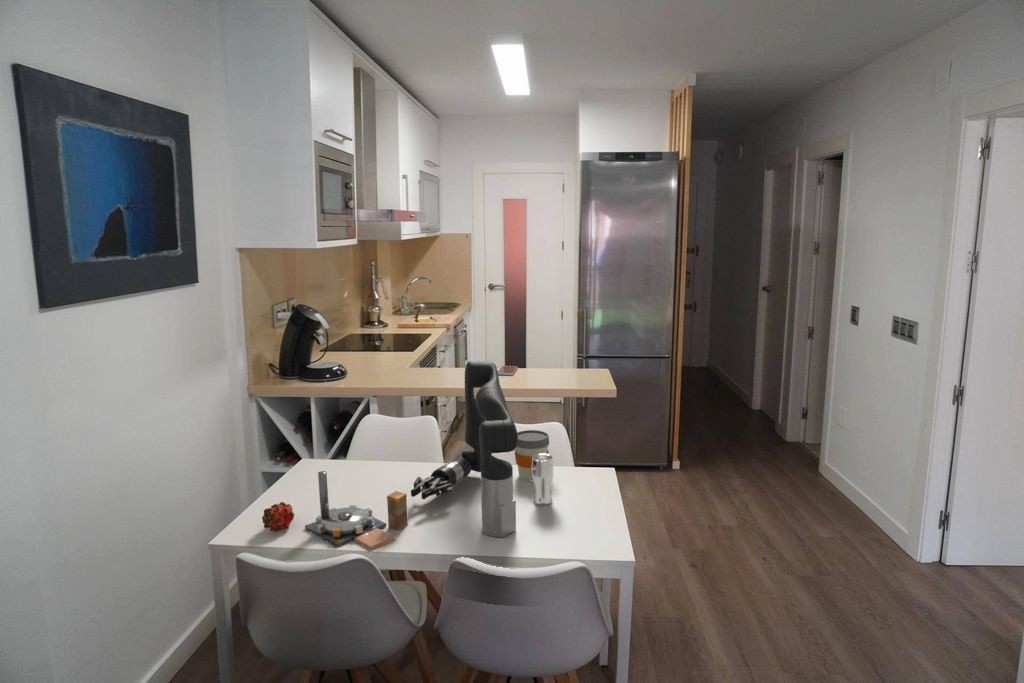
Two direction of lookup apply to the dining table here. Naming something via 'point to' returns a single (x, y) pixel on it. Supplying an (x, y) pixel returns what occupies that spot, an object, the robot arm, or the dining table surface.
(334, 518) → the sprocket
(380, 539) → the salmon brown square slab
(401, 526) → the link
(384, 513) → the dining table surface
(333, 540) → the sprocket base
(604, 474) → the dining table surface
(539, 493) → the silver metal cylinder
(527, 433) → the reusable coffee cup
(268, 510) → the dragon fruit
